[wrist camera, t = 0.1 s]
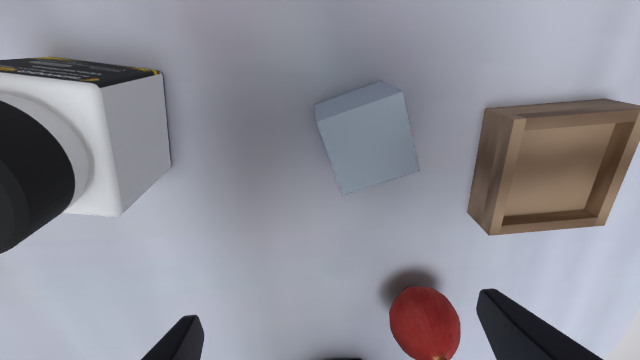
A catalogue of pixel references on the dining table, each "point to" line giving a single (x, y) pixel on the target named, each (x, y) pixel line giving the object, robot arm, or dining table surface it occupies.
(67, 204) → the medicine bottle
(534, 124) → the wooden square tray
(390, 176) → the slate cube
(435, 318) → the onion
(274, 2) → the dining table surface
